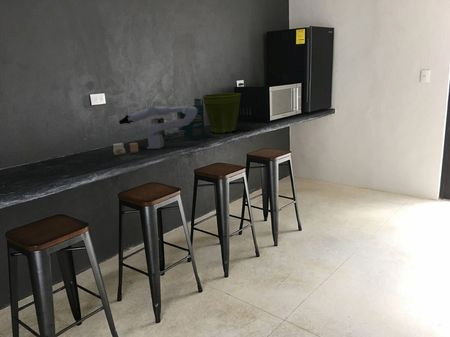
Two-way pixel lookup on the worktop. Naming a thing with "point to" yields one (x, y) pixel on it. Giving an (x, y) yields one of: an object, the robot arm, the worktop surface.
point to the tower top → (118, 146)
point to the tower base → (119, 151)
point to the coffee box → (157, 120)
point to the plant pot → (222, 111)
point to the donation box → (193, 124)
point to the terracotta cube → (133, 147)
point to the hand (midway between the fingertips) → (121, 122)
